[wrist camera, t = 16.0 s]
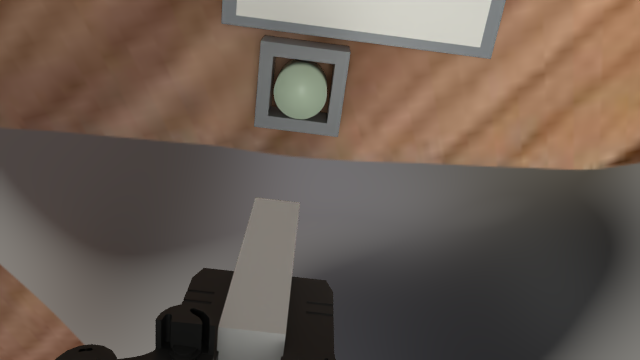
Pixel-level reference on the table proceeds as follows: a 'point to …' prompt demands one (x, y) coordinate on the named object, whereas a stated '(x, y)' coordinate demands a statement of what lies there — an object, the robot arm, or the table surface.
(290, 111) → the button
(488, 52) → the picture board
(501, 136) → the table surface
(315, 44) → the button housing
